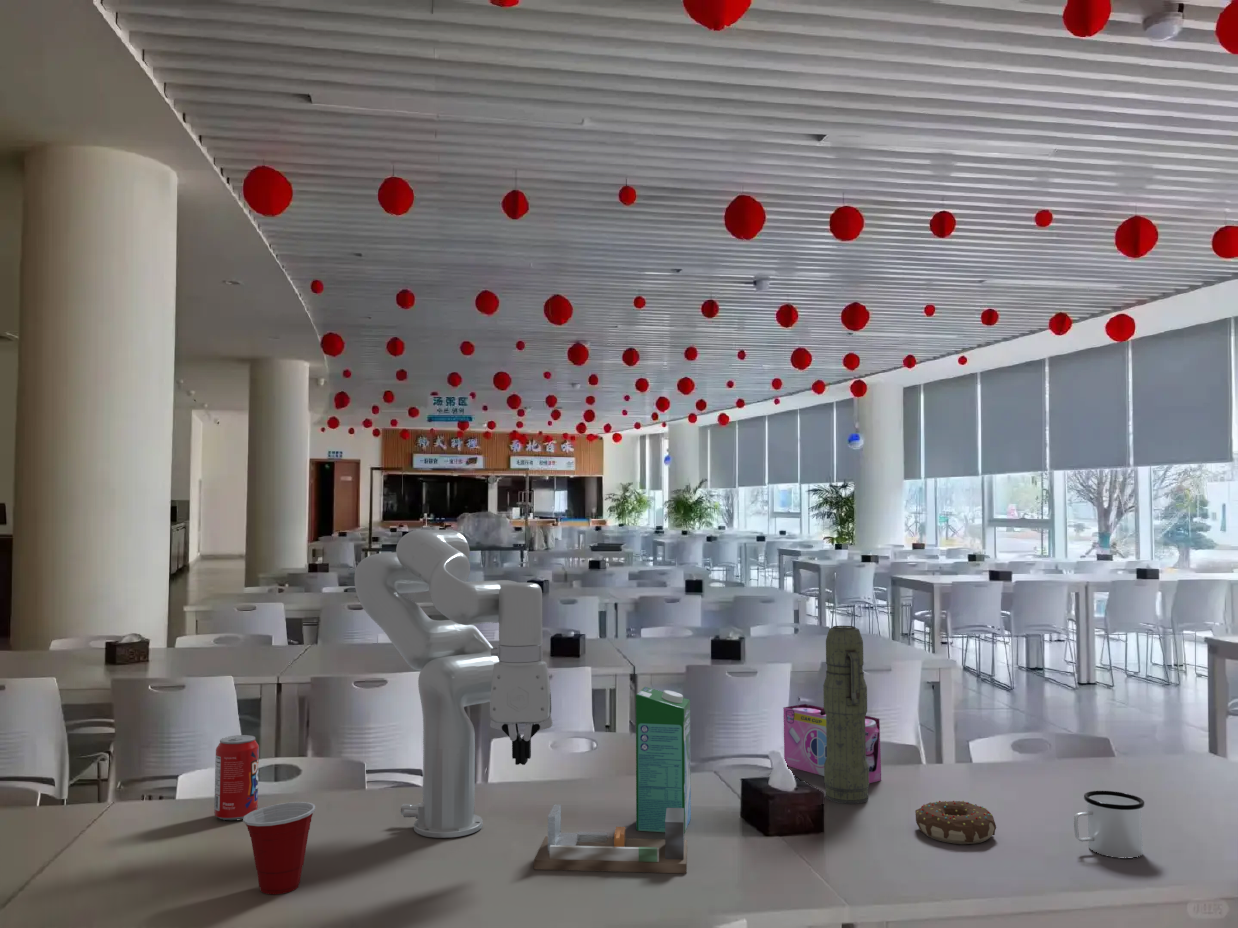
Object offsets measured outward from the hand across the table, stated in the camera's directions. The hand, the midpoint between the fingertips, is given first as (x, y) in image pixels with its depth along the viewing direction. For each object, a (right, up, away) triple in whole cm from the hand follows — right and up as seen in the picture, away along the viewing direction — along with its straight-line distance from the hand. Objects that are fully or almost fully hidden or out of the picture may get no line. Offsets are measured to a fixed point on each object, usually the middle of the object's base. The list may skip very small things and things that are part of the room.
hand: (521, 762), depth 166 cm
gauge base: (+16, -16, -2) cm, 22 cm away
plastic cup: (-37, -15, -15) cm, 42 cm away
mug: (+101, -16, +1) cm, 102 cm away
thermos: (+64, -18, +34) cm, 75 cm away
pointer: (+17, -13, -3) cm, 22 cm away
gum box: (+65, -19, +54) cm, 87 cm away
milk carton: (+25, -17, +16) cm, 34 cm away
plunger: (+10, -14, -1) cm, 17 cm away
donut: (+78, -17, +11) cm, 80 cm away
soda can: (-58, -17, +22) cm, 64 cm away
